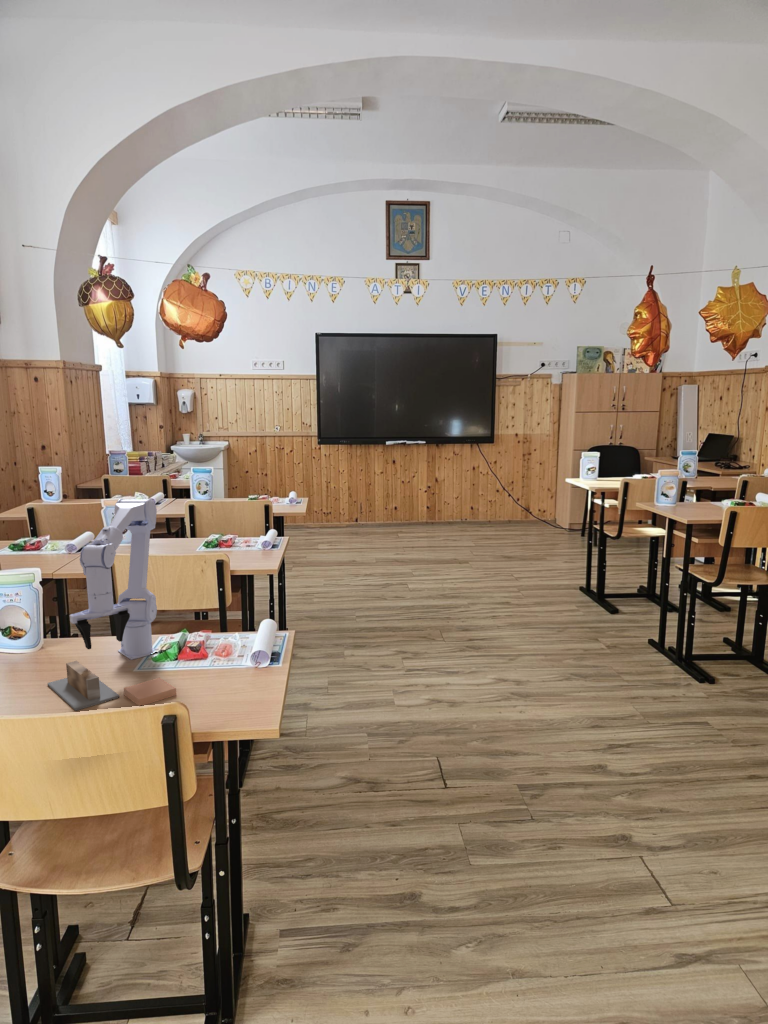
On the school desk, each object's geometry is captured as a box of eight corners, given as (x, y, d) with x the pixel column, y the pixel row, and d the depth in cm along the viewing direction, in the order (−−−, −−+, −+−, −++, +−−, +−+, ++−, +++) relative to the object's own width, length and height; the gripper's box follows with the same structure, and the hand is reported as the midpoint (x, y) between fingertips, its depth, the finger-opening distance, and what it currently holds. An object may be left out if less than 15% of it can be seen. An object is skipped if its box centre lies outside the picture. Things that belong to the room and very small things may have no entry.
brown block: (67, 682, 162) (65, 663, 161) (78, 679, 164) (76, 660, 163) (89, 700, 151) (87, 680, 151) (100, 697, 153) (98, 677, 153)
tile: (123, 687, 156) (139, 699, 149) (159, 677, 162) (175, 688, 156) (124, 696, 156) (139, 708, 150) (159, 685, 162) (176, 696, 156)
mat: (47, 685, 162) (47, 682, 162) (88, 674, 169) (88, 671, 169) (75, 710, 148) (75, 708, 148) (119, 697, 154) (119, 695, 154)
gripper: (75, 601, 153) (79, 656, 155) (135, 589, 163) (139, 641, 165) (65, 595, 158) (69, 648, 160) (124, 584, 168) (128, 634, 170)
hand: (104, 644), depth 163 cm, fingers open, 7 cm apart
